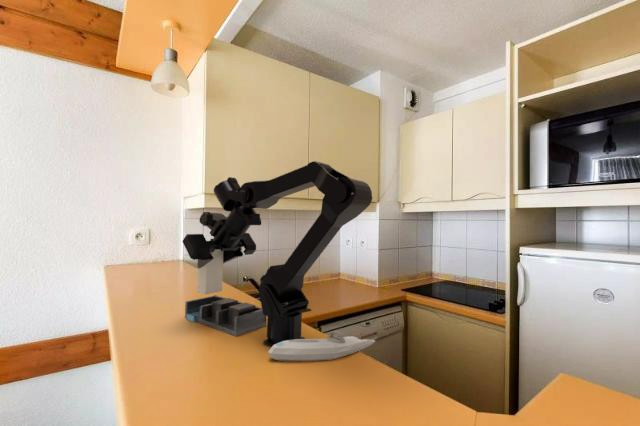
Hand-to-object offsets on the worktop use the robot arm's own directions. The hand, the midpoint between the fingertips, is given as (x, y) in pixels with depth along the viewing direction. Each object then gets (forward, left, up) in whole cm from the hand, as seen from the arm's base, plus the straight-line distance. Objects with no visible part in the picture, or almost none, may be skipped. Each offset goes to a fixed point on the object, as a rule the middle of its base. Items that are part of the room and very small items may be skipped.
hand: (207, 265), depth 83 cm
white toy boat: (-37, +3, -13) cm, 39 cm away
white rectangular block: (-1, 0, -7) cm, 7 cm away
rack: (-8, +1, -13) cm, 15 cm away
